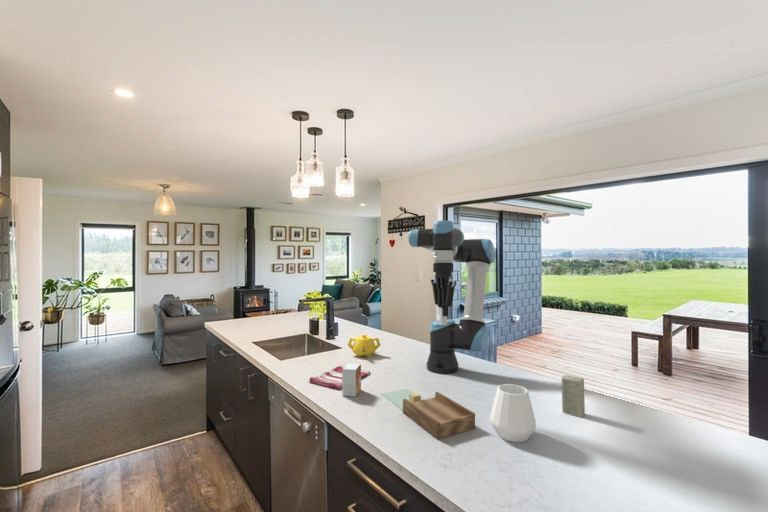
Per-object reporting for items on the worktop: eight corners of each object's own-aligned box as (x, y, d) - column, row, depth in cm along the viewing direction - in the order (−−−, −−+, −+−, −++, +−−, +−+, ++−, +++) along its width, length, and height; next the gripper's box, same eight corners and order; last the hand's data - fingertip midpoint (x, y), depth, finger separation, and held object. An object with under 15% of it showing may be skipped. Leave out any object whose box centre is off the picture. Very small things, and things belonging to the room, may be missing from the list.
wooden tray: (437, 404, 131) (437, 391, 131) (475, 428, 114) (475, 413, 114) (402, 413, 125) (402, 399, 125) (437, 439, 107) (437, 423, 107)
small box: (355, 397, 138) (355, 369, 138) (342, 396, 139) (341, 369, 139) (361, 389, 146) (361, 363, 146) (348, 388, 147) (348, 362, 147)
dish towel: (307, 383, 154) (307, 377, 154) (342, 369, 174) (342, 363, 174) (338, 392, 145) (338, 385, 145) (371, 375, 165) (371, 369, 165)
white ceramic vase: (531, 450, 101) (532, 401, 101) (484, 437, 108) (484, 391, 108) (539, 430, 112) (539, 386, 112) (496, 420, 119) (496, 378, 119)
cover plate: (407, 390, 147) (407, 378, 147) (432, 406, 131) (432, 393, 131) (381, 395, 141) (381, 383, 141) (403, 413, 126) (403, 399, 126)
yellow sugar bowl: (380, 360, 186) (380, 339, 185) (345, 360, 186) (345, 339, 186) (381, 350, 206) (380, 330, 205) (349, 350, 206) (349, 330, 206)
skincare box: (585, 413, 124) (585, 378, 124) (581, 418, 121) (581, 381, 121) (565, 408, 128) (565, 374, 128) (561, 412, 125) (561, 377, 125)
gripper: (425, 261, 140) (425, 322, 140) (445, 262, 128) (445, 328, 128) (440, 261, 143) (440, 320, 143) (462, 262, 132) (462, 326, 132)
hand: (443, 324), depth 136 cm, fingers closed
